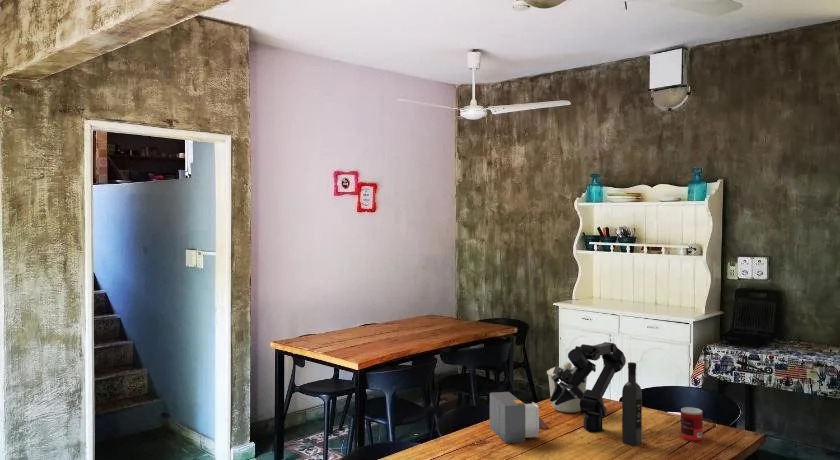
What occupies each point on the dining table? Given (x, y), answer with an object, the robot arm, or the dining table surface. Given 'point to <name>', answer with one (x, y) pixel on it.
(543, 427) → the wooden tablet
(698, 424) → the canned food
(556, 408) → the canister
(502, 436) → the small drawer cabinet
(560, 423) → the dining table surface
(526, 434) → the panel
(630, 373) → the wine bottle
